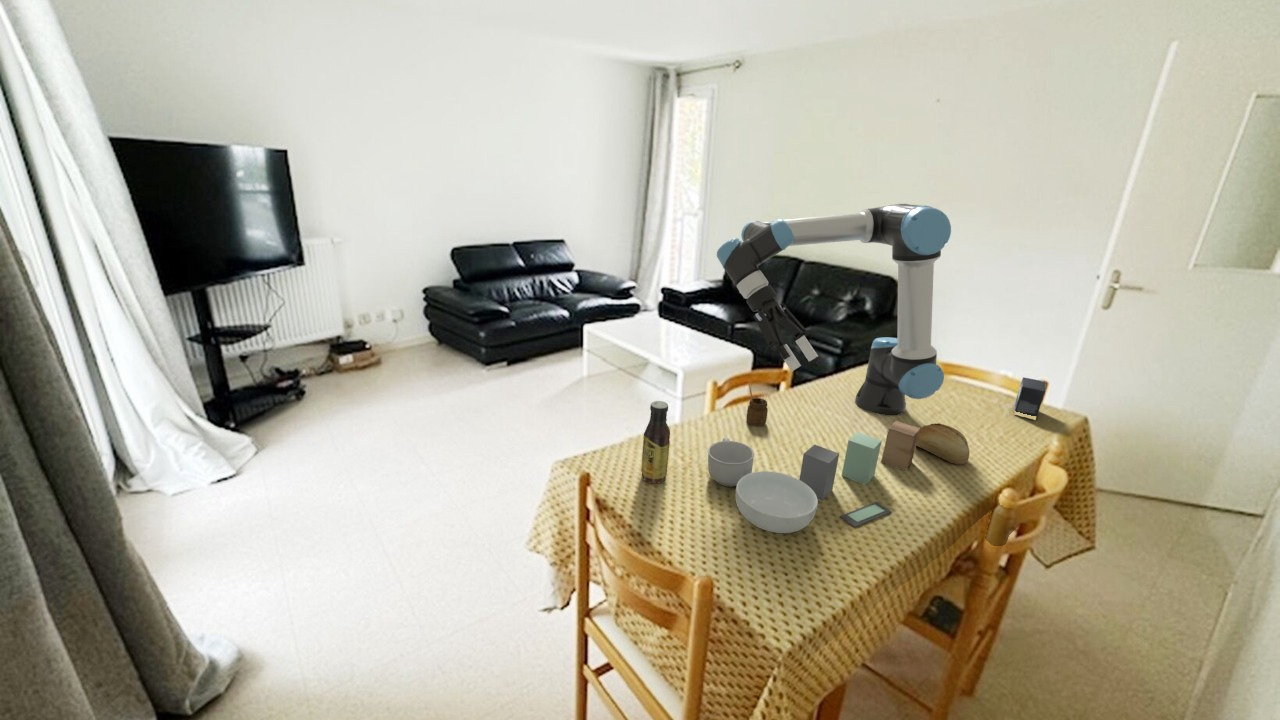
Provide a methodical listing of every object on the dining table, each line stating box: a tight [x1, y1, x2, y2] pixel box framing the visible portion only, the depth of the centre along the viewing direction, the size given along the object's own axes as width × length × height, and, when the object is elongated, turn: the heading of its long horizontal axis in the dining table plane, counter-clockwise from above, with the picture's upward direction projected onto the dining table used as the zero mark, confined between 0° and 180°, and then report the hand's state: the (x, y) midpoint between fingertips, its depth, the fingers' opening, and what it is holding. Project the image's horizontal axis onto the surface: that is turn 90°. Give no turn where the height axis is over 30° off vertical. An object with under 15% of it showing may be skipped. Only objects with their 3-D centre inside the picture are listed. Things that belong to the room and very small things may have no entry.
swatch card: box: [839, 501, 892, 529], centre depth 115 cm, size 12×4×1 cm, turn 119°
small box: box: [1013, 377, 1046, 417], centre depth 169 cm, size 11×6×10 cm, turn 144°
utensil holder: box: [745, 384, 771, 427], centre depth 155 cm, size 6×6×12 cm
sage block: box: [841, 431, 883, 486], centre depth 129 cm, size 6×6×10 cm
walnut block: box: [880, 420, 921, 471], centre depth 136 cm, size 6×6×10 cm
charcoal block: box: [798, 444, 840, 502], centre depth 122 cm, size 6×6×10 cm
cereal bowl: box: [735, 470, 819, 534], centre depth 111 cm, size 17×17×7 cm
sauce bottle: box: [640, 400, 671, 484], centre depth 123 cm, size 7×6×20 cm
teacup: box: [707, 436, 755, 487], centre depth 127 cm, size 14×11×8 cm
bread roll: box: [916, 422, 970, 465], centre depth 142 cm, size 10×15×8 cm, turn 36°
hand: (805, 363), depth 133 cm, fingers open, 10 cm apart
